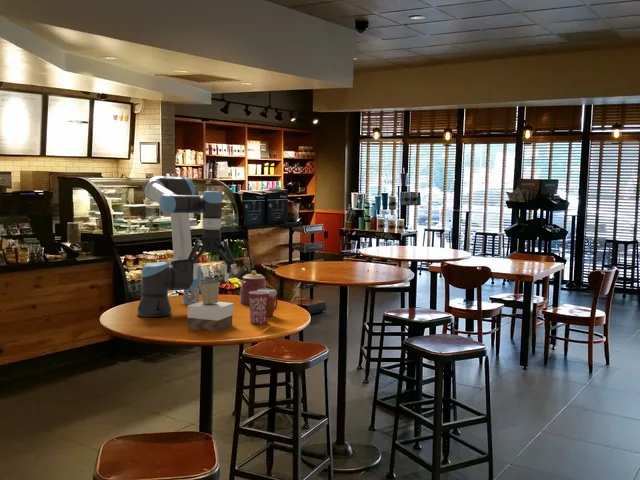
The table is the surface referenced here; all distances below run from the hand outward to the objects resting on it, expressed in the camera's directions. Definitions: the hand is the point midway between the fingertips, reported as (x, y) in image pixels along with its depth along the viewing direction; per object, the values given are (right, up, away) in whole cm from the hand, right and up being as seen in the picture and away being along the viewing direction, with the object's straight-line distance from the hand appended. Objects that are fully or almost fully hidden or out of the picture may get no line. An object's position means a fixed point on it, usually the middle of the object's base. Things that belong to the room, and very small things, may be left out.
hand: (210, 280), depth 263 cm
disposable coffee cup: (+20, -19, +30) cm, 41 cm away
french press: (-20, -16, +56) cm, 62 cm away
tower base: (-1, -20, +2) cm, 20 cm away
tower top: (0, -15, +2) cm, 15 cm away
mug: (+20, -20, +14) cm, 31 cm away
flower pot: (0, -10, +2) cm, 10 cm away
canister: (+11, -16, +57) cm, 60 cm away
